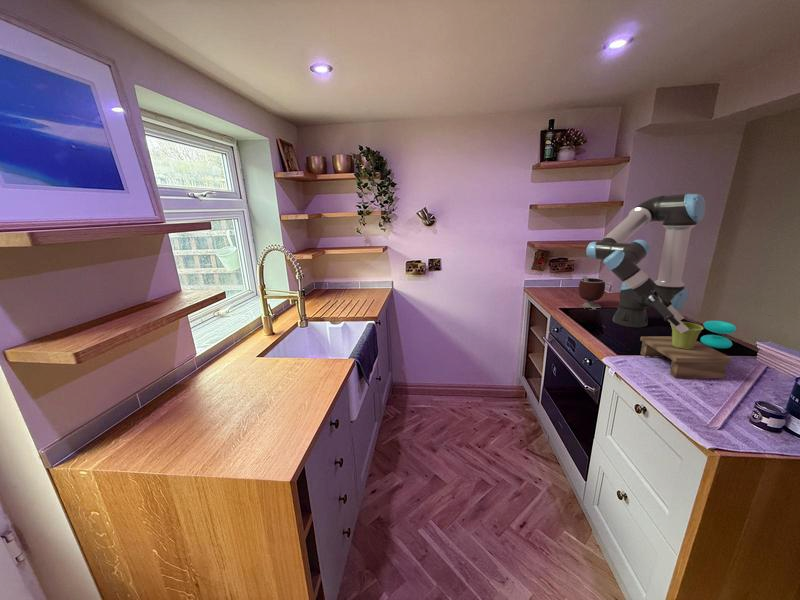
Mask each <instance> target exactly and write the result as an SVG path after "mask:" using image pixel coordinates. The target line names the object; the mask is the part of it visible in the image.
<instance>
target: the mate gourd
mask: <svg viewBox="0 0 800 600" xmlns="http://www.w3.org/2000/svg"><path fill="white" fill-rule="evenodd" d="M579 275H580V276H582V278H581V279H580V281H579V284H578V295H579V296H580V298H581V299H583V300H585V301H587V302H583V303H584V304H583V306H586V307H591V308H592V309H591V310H597V309H596V308H600V309H601V308H602V306H601V305H600V304H598V303H594V302H596V301H599V300H600V299H602V297H604V294H605V289H606V283H605V282H606V281H605V279H602V278H597V277H587V276H586V275H584V274H583V273H581V272H580V273H579Z"/></svg>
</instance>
